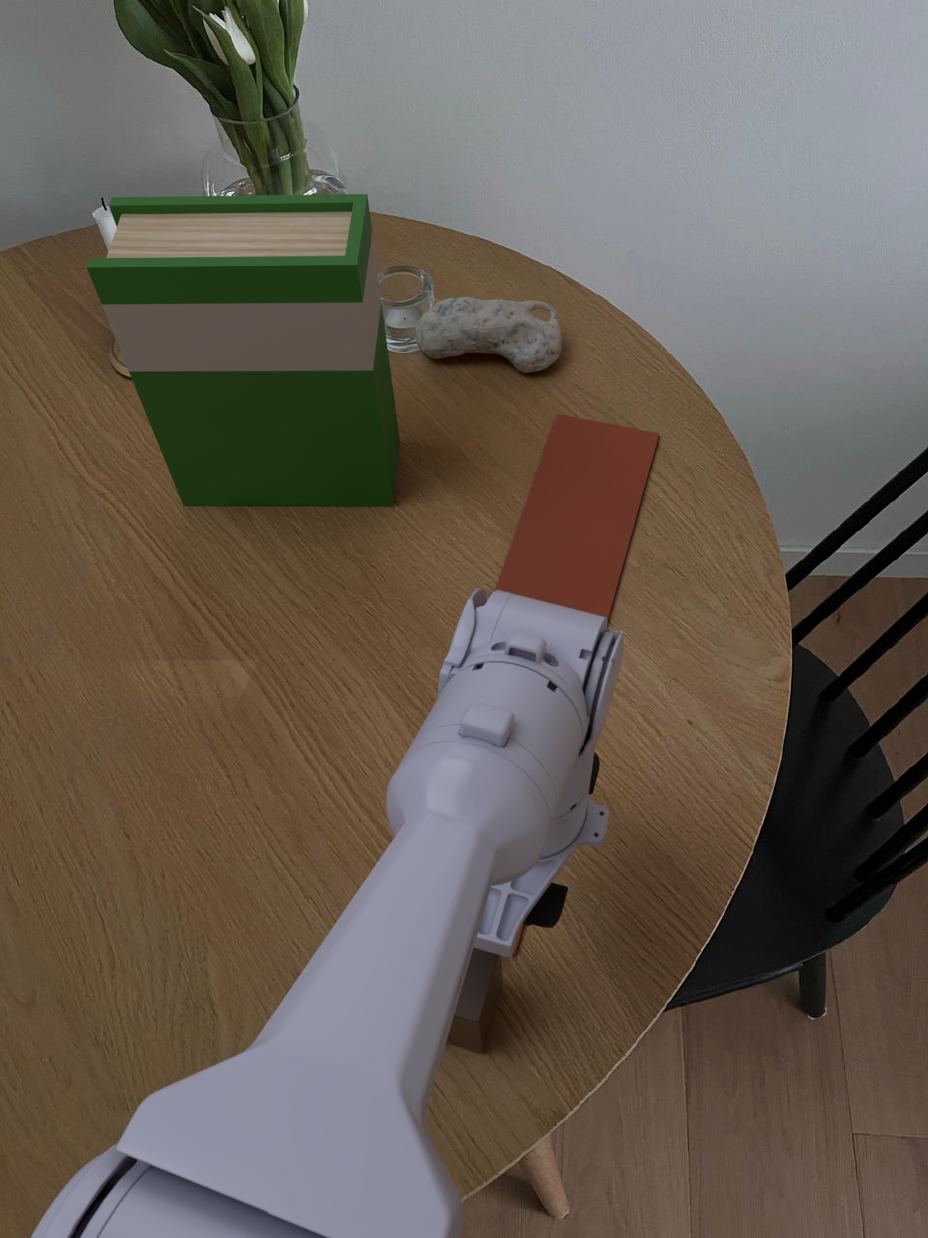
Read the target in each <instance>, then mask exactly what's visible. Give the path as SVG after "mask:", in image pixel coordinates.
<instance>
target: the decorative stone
mask: <svg viewBox="0 0 928 1238" xmlns="http://www.w3.org/2000/svg"><path fill="white" fill-rule="evenodd" d="M539 309H541V310H545V311H548V312H549V313H550V320H549V321H547V320H541V319H539V318H537V317H534V316H533V311H535V310H539ZM414 330H415V331H414V337H415V342H416V346H417V348H418V349H419V350H420V351H421V352H422V353H423V354H424V355H426V356H427V357H429V358H431V359H435V360H438V359H439V360H440V359H446V358H448V357H450V358H451V357H458V356H461V355H465V354H471V353H472V354H473V353H474V354H475V353H480V354H490V355H491V354H492V355H500V356H501V357H504V358H506V359H507V360H508V361H509V362H510V363H511V365H512V366H513V368H515V369H516V370H517V371H519V372H521V373H523V374H527V373H535V372H536V373H537V372H540V371H543V370H545V369H547V368H548V367H550V366H551V365H552V364H553V363H555V362H556V361H557V360H558V359H559V357H560V356H561V353H562V347H563V343H562V341H563V338H562V337H563V336H562V331H561V325H560V320H559V316H558V313H557V311H556V310H555V308H554V307H553V306H551V305H550V304H549V303H546V302H544V301H541V300H539V301H538V300H533V299H531V300H524V301H513V300H505V299H488V300H484V299H480V298H475V297H471V296H461V297H460V296H459V297H456V298H454V297H449V298H445V299H443V300H441V301H438V302H436V303H435V304H434V305H433V306H432V307H431V308H429V309H428V310H427V311H426V312H424V313H423V314H422V315H421V317H420V318H419V319H418V321H417V323H416V325H415V329H414Z"/></svg>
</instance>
